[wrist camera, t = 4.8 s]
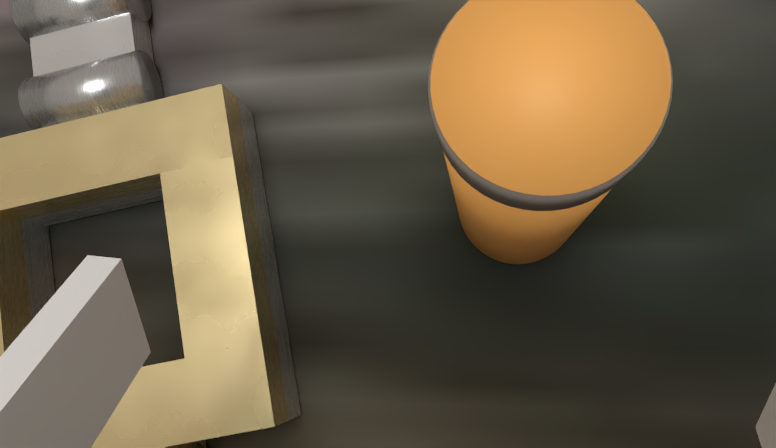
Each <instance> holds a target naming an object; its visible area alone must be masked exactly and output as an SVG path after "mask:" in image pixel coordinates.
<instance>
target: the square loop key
mask: <svg viewBox="0 0 776 448" xmlns="http://www.w3.org/2000/svg"><path fill="white" fill-rule="evenodd" d="M9 4H10V11H11V15H12V18H13V21H14V23H15V25H16V27H17V29H18V31H19V32H20V34H21V35H22V37H23V38H24V39H25V40H26V41H27V42H28V43H29V44H30V45H31V55H32V65H33V75H34V77H30V78H26V79H24V80H23V81H22V82H21V84H20V86H19V90H18V98H19V104H20V107H21V110H22V113H23V115H24V117H25V119H26V121H27V122H28V124H29V125H30V127H31V128H32V129H33V130H32V131H27V132H23V133H19V134H15V135H11V136H7V137H3V138H0V357H1V355H2V354H3V353H4V352H5V351H6V350H7V348H8V347H9V346H10V345H11V344H12V343H13V341H14V340H15V339H16V338H17V337H18V336H19V334H20V333H21V332H22V331H23V330H24V329H25V327H26V326H27V325H28V324H29V323H30V322H31V321H32V319H33V318H34V317H35V316H36V315H37V314H38V312H39V311H40V310H41V309H42V308H43V307H44V305H45V304H46V303H47V302H48V301H49V300H50V298H51V297H52V296H53V295H54V294H55V286H54V276H53V266H52V256H51V246H50V237H49V227H48V226H50V225H55V224H59V223H64V222H68V221H72V220H77V219H81V218H85V217H90V216H94V215H99V214H103V213H107V212H112V211H116V210H121V209H125V208H129V207H134V206H138V205H143V204H147V203H151V202H156V201H160V200H164V208H165V215H166V223H167V230H168V238H169V245H170V252H171V260H172V267H173V275H174V282H175V290H176V297H177V305H178V312H179V320H180V327H181V334H182V342H183V349H184V357H185V358H184V359H179V360H174V361H169V362H164V363H159V364H154V365H149V366H144V367H141V368H140V370H139V372H138V373H137V375H136V376H135V378H134V380H133V381H132V383H131V384H130V386H129V388H128V389H127V391H126V392H125V394H124V396H123V397H122V399H121V400H120V402H119V404H118V405H117V407H116V408H115V410H114V412H113V413H112V415H111V416H110V418H109V420H108V421H107V423H106V424H105V426H104V428H103V429H102V431H101V432H100V434H99V436H98V437H97V439H96V440H95V442H94V444H93V445H92V447H91V448H207V445H206V439H211V438H216V437H221V436H227V435H232V434H238V433H243V432H248V431H254V430H259V429H265V428H270V427H275V426H277V425H279V424H282V423H284V422H286V421H288V420H291V419H293V418H295V417H297V416H300V415H302V414H301V408H300V402H299V396H298V390H297V384H296V377H295V371H294V365H293V359H292V353H291V347H290V341H289V334H288V328H287V322H286V316H285V310H284V304H283V297H282V291H281V285H280V279H279V273H278V267H277V260H276V254H275V248H274V242H273V236H272V230H271V224H270V217H269V211H268V205H267V199H266V193H265V187H264V180H263V174H262V168H261V162H260V156H259V150H258V143H257V137H256V131H255V125H254V119H253V113H252V112H251V111H250V110H249V109H248V108H247V107H246V106H245V105H244V104H243V103H242V102H240V101H239V100H238V99H237V98H236V97H235V96H234V95H233V94H232V93H231V92H230V91H229V90H228V89H226V88H225V87H224V86H223V85H222V84H219V85H215V86H211V87H207V88H203V89H199V90H195V91H191V92H187V93H183V94H179V95H175V96H170V97H166V98H164V94H163V87H162V82H161V79H160V76H159V73H158V71H157V68H156V66H155V64H154V57H153V50H152V42H151V35H150V28H149V19H150V18H151V14H152V7H151V0H9Z"/></svg>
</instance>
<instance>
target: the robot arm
mask: <svg viewBox="0 0 776 448" xmlns="http://www.w3.org/2000/svg"><path fill="white" fill-rule="evenodd" d="M150 352H151V351H150V348H149V345H148V342H147V339H146V335H145V332H144V329H143V326H142V323H141V320H140V316H139V313H138V310H137V307H136V304H135V301H134V297H133V294H132V291H131V288H130V285H129V281H128V278H127V275H126V272H125V269H124V266H123V262H122V259H119V258H109V257H99V256H89V255H87V257H86V258H85V259H84V260H83V261H82V262H81V264H80V265H79V266H78V267H77V268H76V269H75V271H74V272H73V273H72V274H71V275H70V276H69V278H68V279H67V280H66V281H65V282H64V283H63V285H62V286H61V287H60V288H59V289H58V290H57V291H56V293H55V294H54V295H53V296H52V297H51V298H50V300H49V301H48V302H47V303H46V304H45V305H44V307H43V308H42V309H41V310H40V311H39V312H38V314H37V315H36V316H35V317H34V318H33V319H32V321H31V322H30V323H29V324H28V325H27V326H26V327H25V329H24V330H23V331H22V332H21V333H20V334H19V336H18V337H17V338H16V339H15V340H14V341H13V343H12V344H11V345H10V346H9V347H8V348H7V350H6V351H5V352H4V353H3V354H2V355H1V357H0V448H91V447H92V445H93V444H94V442H95V440H96V439H97V437H98V436H99V434H100V432H101V431H102V429H103V428H104V426H105V424H106V423H107V421H108V420H109V418H110V416H111V415H112V413H113V412H114V410H115V408H116V407H117V405H118V404H119V402H120V400H121V399H122V397H123V396H124V394H125V392H126V391H127V389H128V388H129V386H130V384H131V383H132V381H133V380H134V378H135V376H136V375H137V373H138V372H139V370H140V368H141V367H142V365H143V364H144V362H145V360H146V359H147V357H148V356H149V354H150ZM755 428H756V431H757V434H758V437H759V440H760V443H761V447H762V448H776V383H775V385H774V388H773V390H772V392H771V394H770V396H769V398H768V401H767V403H766V405H765V407H764V409H763V411H762V414H761V416H760V418H759V420H758V422H757V424H756V427H755Z"/></svg>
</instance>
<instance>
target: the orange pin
mask: <svg viewBox="0 0 776 448" xmlns="http://www.w3.org/2000/svg"><path fill="white" fill-rule="evenodd" d="M672 87H673V78H672V66H671V61H670V57H669V52H668V50H667V47H666V44H665V41H664V39H663V37H662V35H661V33H660V31H659V29H658V27H657V25H656V24H655V23H654V21H653V20H652V19H651V17H650V16H649V14H648V13H647V12H646V11H645V10H644V9H643V8H642V7H641V6H640V5H639V4H638V3H637V2H636V1H635V0H469V1H467V2H466V3H465V4H464V5H463V6H462V7H461V8H460V9H459V10H458V11H457V12H456V14H455V15H454V16H453V17H452V19H451V20H450V21H449V23H448V24H447V25H446V27H445V29H444V31H443V32H442V34H441V36H440V37H439V40H438V42H437V45H436V47H435V49H434V52H433V56H432V59H431V63H430V69H429V76H428V97H429V104H430V110H431V114H432V118H433V122H434V125H435V129H436V133H437V136H438V140H439V143H440V145H441V147H442V149H443V152H444V156H445V160H446V164H447V168H448V172H449V176H450V180H451V185H452V189H453V193H454V197H455V201H456V205H457V209H458V214H459V218H460V221H461V225H462V227H463V230H464V232H465V234H466V235H467V237H468V239H469V240H470V241H471V243H472V244H473V245H474V246H475V247H476V248H477V249H478V250H479V251H481V252H482V253H483V254H485V255H486V256H488V257H490V258H492V259H494V260H497V261H499V262H503V263H508V264H528V263H533V262H536V261H539V260H542V259H544V258H546V257H548V256H550V255H551V254H553V253H554V252H555V251H557V250H558V249H559V248H560V247H561V246H562V245H563V244H564V243H565V242H566V240H567V239H568V238H569V237H570V236H571V235H572V234H573V232H574V231H575V230H576V229H577V228H578V227H579V226H580V224H581V223H582V222H583V221H584V220H585V219H586V218H587V216H588V215H589V214H590V213H591V212H592V211H593V210H594V208H595V207H596V206H597V205H598V204H599V203H600V202H601V200H602V199H603V198H604V197H605V196H606V195H607V194H608V192H609V191H610V190H611V189H612V188H613V187H614V186H616V185H617V184H618V183H620V182H621V181H622V180H623V179H624V178H625V177H626V176H627V175H628V174H629V173H630V172H631V170H632V169H633V168H634V167H635V166H636V165H637V164H638V163H639V162H640V160H641V159H642V158H643V157H644V156H645V155H646V153H647V152H648V151H649V149H650V148H651V147H652V145H653V144H654V143H655V141H656V139H657V137H658V136H659V134H660V132H661V130H662V128H663V126H664V123H665V121H666V118H667V115H668V112H669V108H670V103H671V99H672Z"/></svg>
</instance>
